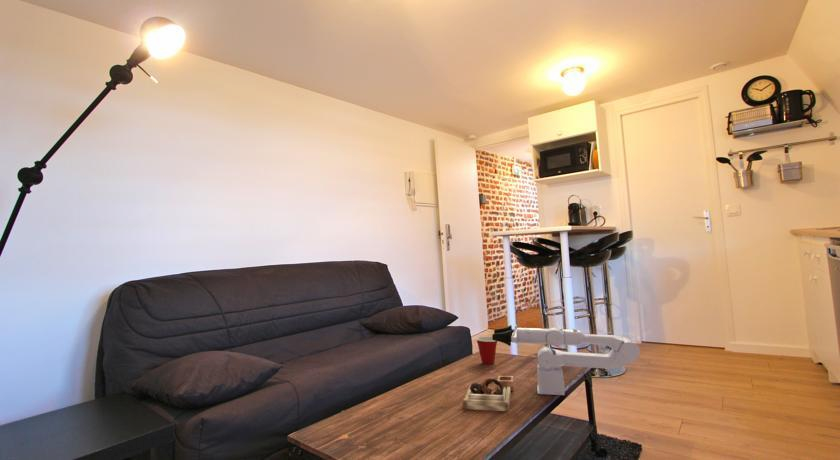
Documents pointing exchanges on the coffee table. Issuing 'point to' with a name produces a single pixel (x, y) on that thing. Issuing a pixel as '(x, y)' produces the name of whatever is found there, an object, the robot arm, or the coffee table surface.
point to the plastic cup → (487, 349)
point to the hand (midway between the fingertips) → (493, 334)
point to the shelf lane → (487, 402)
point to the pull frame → (505, 381)
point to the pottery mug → (483, 387)
